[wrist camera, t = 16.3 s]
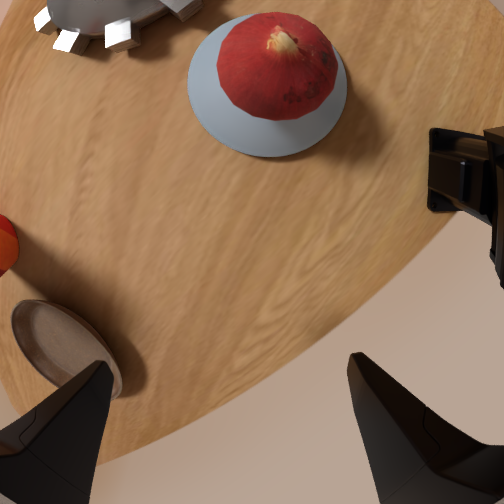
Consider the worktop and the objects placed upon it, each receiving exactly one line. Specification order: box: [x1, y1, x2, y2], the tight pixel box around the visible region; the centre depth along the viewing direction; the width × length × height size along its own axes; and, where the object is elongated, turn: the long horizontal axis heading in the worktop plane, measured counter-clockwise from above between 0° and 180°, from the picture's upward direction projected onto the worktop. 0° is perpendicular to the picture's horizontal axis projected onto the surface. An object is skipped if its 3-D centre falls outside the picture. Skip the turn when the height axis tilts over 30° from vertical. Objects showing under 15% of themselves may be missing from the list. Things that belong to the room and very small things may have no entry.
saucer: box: [11, 300, 122, 401], centre depth 24 cm, size 15×15×3 cm
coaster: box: [188, 13, 347, 157], centre depth 15 cm, size 10×10×1 cm
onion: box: [216, 12, 338, 121], centre depth 11 cm, size 6×6×8 cm
